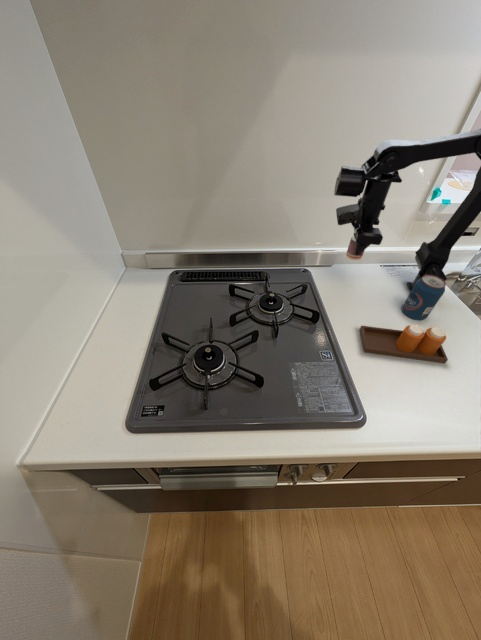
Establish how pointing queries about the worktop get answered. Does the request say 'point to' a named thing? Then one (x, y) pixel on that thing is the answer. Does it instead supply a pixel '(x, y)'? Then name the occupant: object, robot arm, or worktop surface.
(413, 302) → the soda can
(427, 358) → the tray
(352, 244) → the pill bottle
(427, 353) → the amber bottle back
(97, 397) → the worktop surface
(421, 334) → the amber bottle middle
